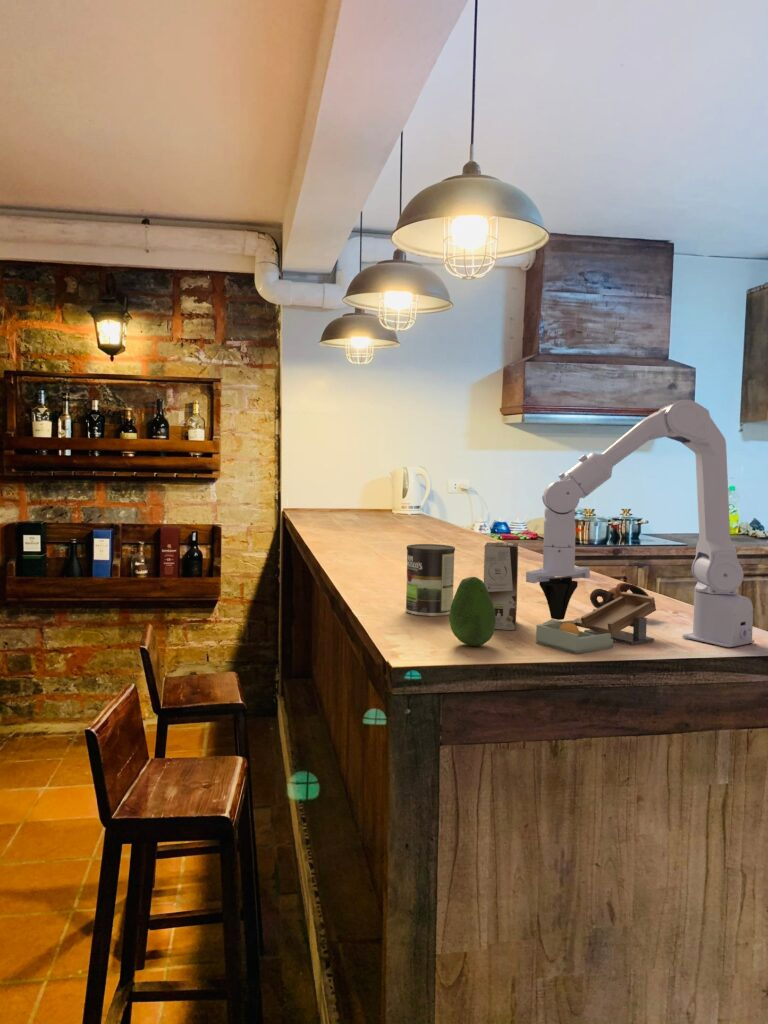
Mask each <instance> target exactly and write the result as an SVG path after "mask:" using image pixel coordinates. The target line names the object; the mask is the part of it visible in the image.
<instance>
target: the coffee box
mask: <svg viewBox="0 0 768 1024" xmlns="http://www.w3.org/2000/svg"><path fill="white" fill-rule="evenodd" d="M483 558H484V559H483V561H484V562H483V583H484V584H485V586H486V588H487V590H488V593H489V595H490V597H491V600H492V603H493V606H494V609H495V617H496V624H495V628H494V630H504V631H514V630H516V625H517V624H516V623H517V609H518V606H517V605H518V603H517V602H518V576H519V575H518V573H519V571H518V570H519V567H518V565H519V564H518V563H519V543H518V542H507V541H506V542H504V541H503V542H501V541H499V542H491V541H489V542H486V543H485V545H484V557H483Z"/></svg>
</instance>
